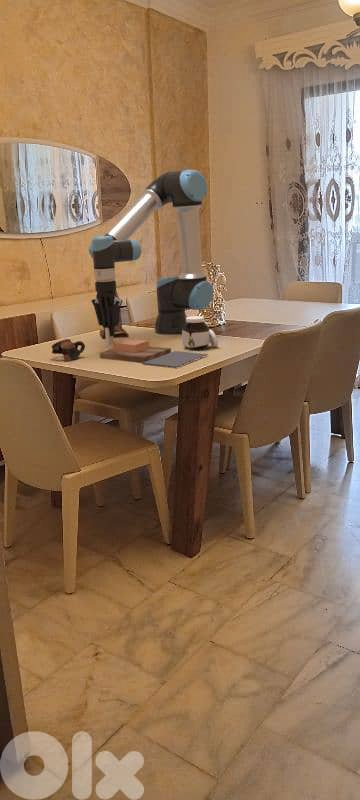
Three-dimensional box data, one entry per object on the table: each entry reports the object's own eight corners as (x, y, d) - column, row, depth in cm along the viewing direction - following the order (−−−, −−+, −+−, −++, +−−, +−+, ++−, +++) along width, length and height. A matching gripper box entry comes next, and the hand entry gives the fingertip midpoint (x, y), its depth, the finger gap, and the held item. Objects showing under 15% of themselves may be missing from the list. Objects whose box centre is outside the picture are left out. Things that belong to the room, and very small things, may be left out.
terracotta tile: (127, 346, 237) (126, 338, 236) (148, 348, 232) (148, 340, 231) (113, 351, 231) (112, 342, 230) (135, 353, 225) (134, 344, 224)
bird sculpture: (103, 340, 264) (97, 261, 254) (98, 334, 275) (93, 259, 265) (129, 338, 267) (125, 260, 257) (124, 332, 277) (120, 257, 267)
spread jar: (179, 348, 240) (178, 317, 236) (200, 343, 247) (199, 313, 244) (202, 352, 231) (201, 320, 228) (223, 347, 239) (222, 316, 235)
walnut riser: (127, 349, 242) (127, 344, 242) (171, 353, 232) (170, 348, 231) (100, 357, 230) (100, 352, 229) (145, 363, 219) (144, 357, 218)
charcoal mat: (175, 352, 233) (175, 351, 233) (208, 355, 225) (207, 354, 225) (142, 364, 217) (142, 362, 217) (176, 368, 209) (176, 366, 209)
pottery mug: (58, 364, 224) (49, 343, 225) (58, 370, 234) (49, 350, 234) (89, 352, 227) (80, 331, 228) (88, 359, 236) (80, 339, 237)
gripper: (84, 281, 230) (90, 345, 237) (112, 282, 223) (117, 348, 229) (98, 278, 236) (103, 341, 242) (125, 279, 229) (130, 344, 235)
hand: (110, 344), depth 236 cm, fingers closed
